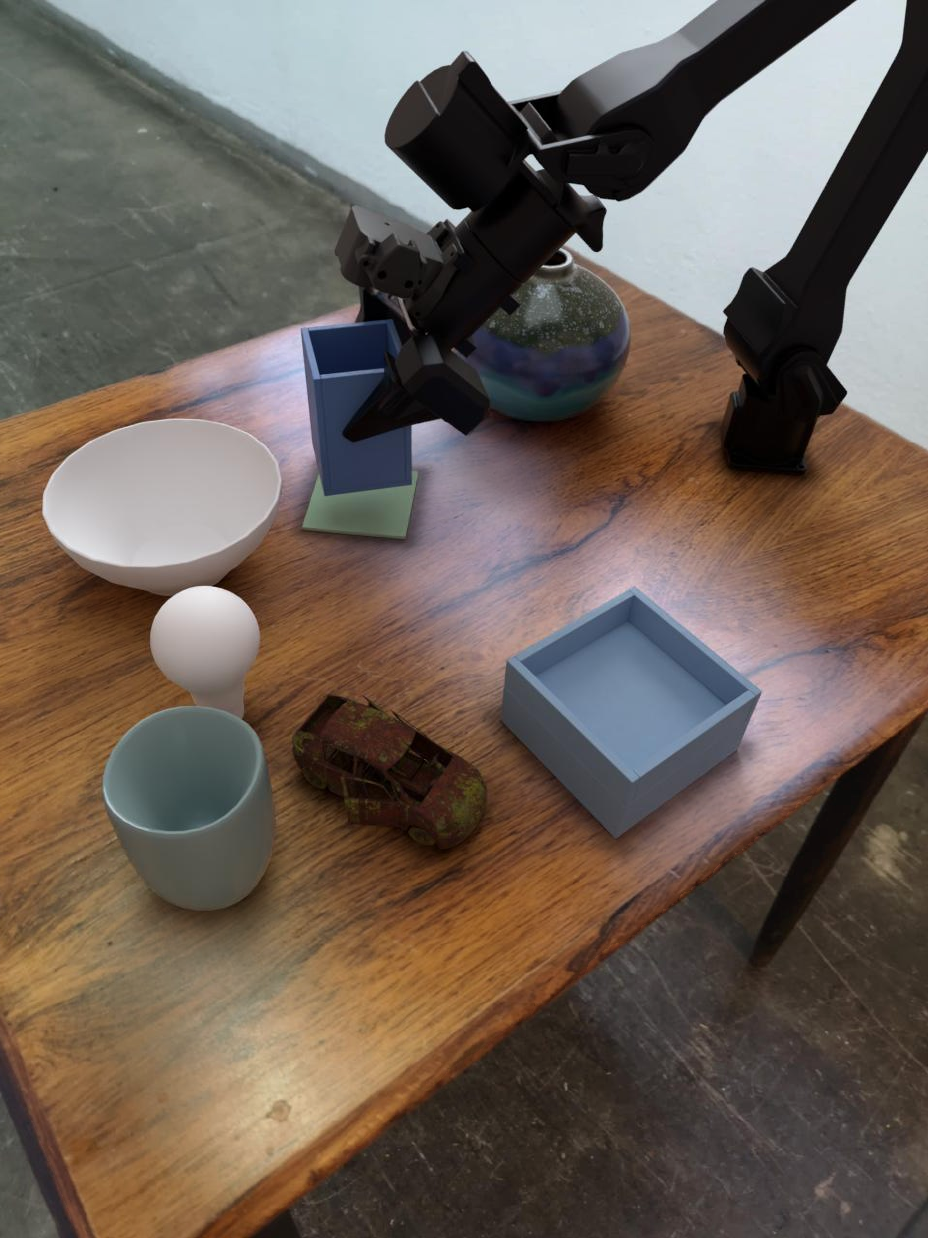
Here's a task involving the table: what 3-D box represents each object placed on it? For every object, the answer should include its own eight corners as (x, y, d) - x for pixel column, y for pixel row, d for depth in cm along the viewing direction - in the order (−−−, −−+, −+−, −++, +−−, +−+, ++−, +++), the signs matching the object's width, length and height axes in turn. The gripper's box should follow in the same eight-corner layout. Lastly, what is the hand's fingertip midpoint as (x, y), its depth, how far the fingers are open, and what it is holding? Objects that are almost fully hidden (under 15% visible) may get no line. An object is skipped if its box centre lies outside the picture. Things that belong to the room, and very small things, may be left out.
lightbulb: (290, 699, 62) (272, 580, 54) (246, 773, 58) (219, 656, 50) (207, 673, 63) (176, 553, 55) (158, 744, 59) (117, 625, 51)
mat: (418, 474, 79) (418, 471, 78) (405, 539, 73) (405, 536, 73) (322, 465, 79) (322, 462, 79) (302, 529, 73) (301, 527, 73)
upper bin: (395, 432, 76) (392, 318, 69) (412, 485, 72) (411, 368, 64) (312, 442, 75) (300, 327, 67) (324, 496, 70) (313, 379, 63)
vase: (416, 409, 85) (416, 266, 75) (503, 333, 94) (513, 197, 84) (570, 470, 80) (592, 326, 70) (646, 384, 89) (675, 246, 79)
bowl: (21, 599, 67) (-12, 524, 62) (153, 470, 78) (134, 397, 72) (217, 670, 64) (200, 596, 59) (329, 524, 74) (322, 451, 69)
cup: (256, 946, 51) (229, 852, 44) (119, 915, 52) (70, 818, 44) (302, 821, 56) (285, 718, 49) (176, 795, 57) (142, 691, 50)
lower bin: (619, 646, 67) (634, 585, 62) (737, 749, 61) (762, 691, 56) (499, 719, 62) (506, 659, 57) (615, 839, 56) (632, 783, 52)
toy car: (272, 791, 58) (262, 743, 54) (338, 711, 62) (333, 662, 58) (444, 884, 54) (446, 840, 50) (502, 793, 58) (508, 746, 54)
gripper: (381, 111, 64) (237, 280, 70) (444, 238, 52) (263, 430, 58) (488, 218, 71) (350, 362, 77) (566, 352, 59) (394, 511, 65)
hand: (339, 409), depth 69 cm, fingers closed on upper bin, 6 cm apart
